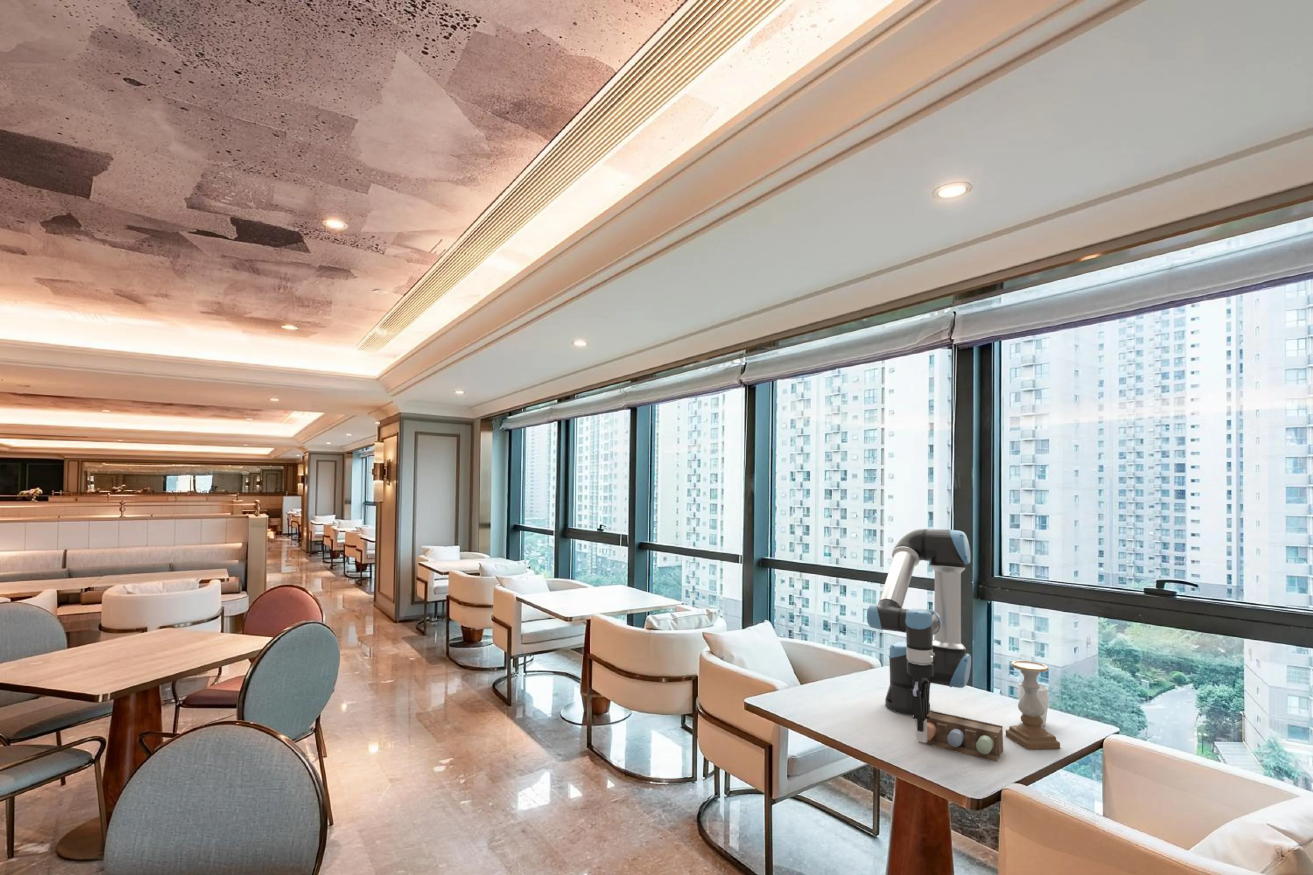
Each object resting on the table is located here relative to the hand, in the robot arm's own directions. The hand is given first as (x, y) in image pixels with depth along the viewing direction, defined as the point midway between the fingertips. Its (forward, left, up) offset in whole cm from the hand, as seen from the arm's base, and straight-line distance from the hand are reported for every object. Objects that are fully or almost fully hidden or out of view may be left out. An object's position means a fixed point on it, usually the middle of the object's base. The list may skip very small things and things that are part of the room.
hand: (921, 740), depth 192 cm
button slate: (+8, +7, -1) cm, 10 cm away
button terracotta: (0, +7, -1) cm, 7 cm away
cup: (+23, +49, -4) cm, 54 cm away
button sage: (+16, +7, -1) cm, 17 cm away
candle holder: (+25, +30, -4) cm, 39 cm away
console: (+8, +12, -3) cm, 15 cm away
